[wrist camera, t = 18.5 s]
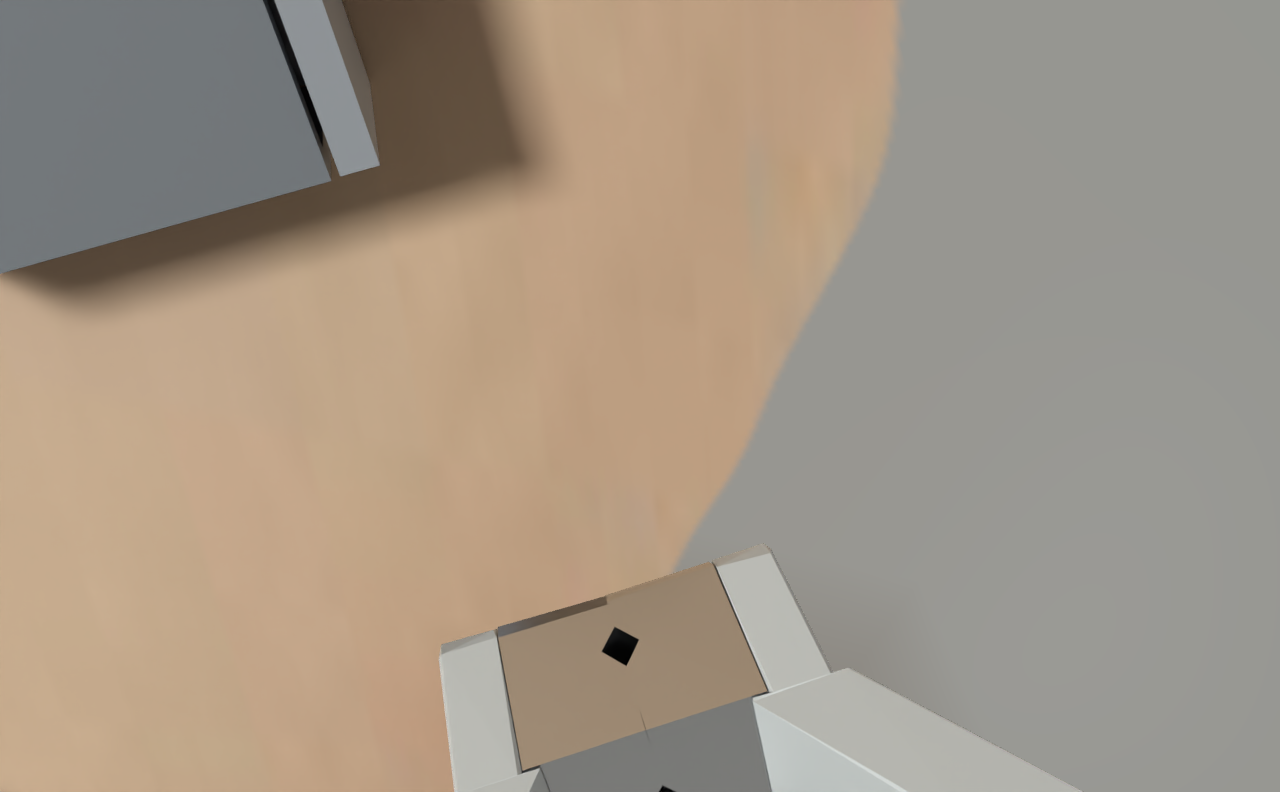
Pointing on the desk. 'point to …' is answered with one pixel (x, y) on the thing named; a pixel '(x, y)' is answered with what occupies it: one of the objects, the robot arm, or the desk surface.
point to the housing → (143, 119)
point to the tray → (331, 77)
